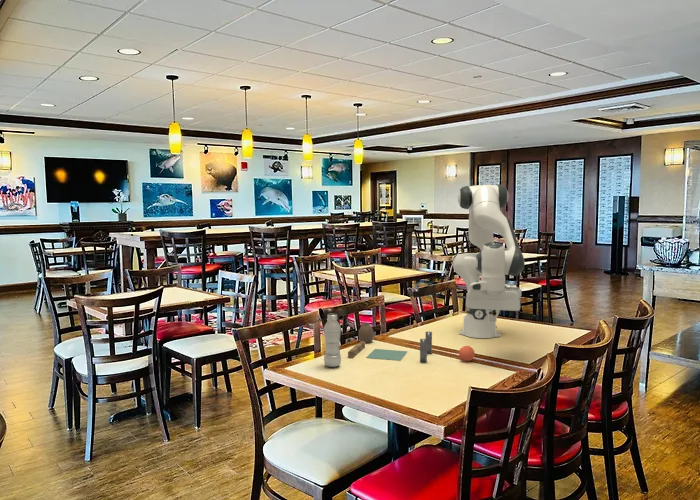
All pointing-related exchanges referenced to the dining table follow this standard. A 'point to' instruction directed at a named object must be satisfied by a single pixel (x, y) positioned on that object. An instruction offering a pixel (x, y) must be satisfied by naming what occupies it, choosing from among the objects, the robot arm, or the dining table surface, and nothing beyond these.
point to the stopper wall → (356, 349)
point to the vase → (366, 333)
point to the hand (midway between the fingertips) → (492, 321)
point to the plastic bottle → (332, 341)
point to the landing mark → (387, 354)
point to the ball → (466, 353)
